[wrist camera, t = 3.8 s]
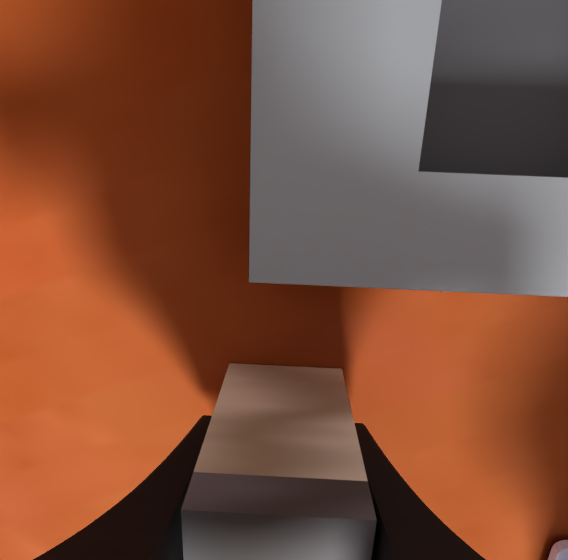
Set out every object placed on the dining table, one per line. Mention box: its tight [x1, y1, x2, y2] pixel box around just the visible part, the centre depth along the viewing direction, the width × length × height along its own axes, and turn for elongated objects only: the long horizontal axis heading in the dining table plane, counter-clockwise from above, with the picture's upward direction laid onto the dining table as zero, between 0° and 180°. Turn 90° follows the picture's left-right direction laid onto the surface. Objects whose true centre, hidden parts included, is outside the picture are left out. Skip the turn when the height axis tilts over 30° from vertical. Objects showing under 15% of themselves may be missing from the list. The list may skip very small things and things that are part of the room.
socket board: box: [249, 0, 568, 297], centre depth 9 cm, size 14×12×3 cm
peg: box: [181, 363, 377, 560], centre depth 11 cm, size 4×4×6 cm
